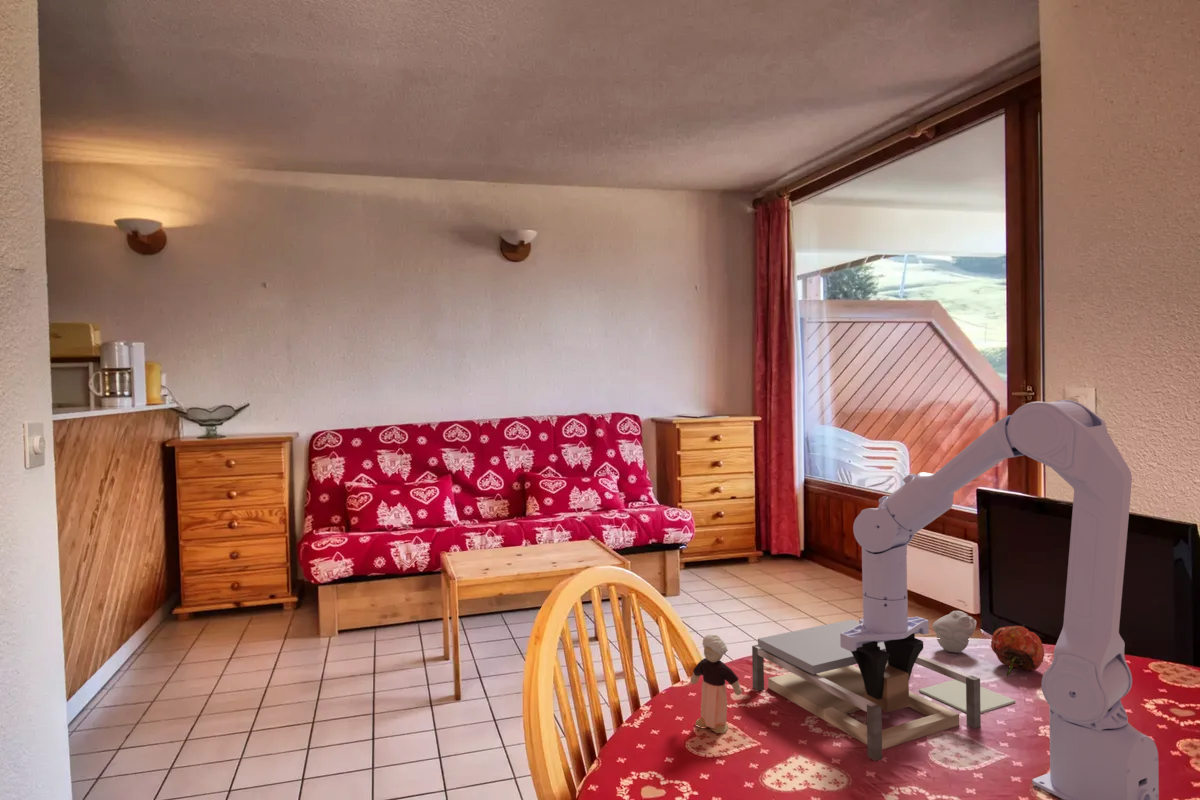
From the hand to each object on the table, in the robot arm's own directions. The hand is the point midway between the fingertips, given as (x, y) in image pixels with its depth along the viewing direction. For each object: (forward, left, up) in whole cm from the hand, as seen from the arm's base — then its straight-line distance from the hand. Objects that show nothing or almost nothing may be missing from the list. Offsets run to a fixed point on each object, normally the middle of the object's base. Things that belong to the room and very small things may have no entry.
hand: (886, 693), depth 98 cm
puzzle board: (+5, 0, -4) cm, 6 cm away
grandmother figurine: (+9, +22, -4) cm, 24 cm away
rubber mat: (0, -16, -4) cm, 16 cm away
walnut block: (0, 0, -1) cm, 1 cm away
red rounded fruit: (+3, -32, -4) cm, 32 cm away
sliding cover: (+10, 0, +3) cm, 10 cm away
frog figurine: (+13, -30, -4) cm, 33 cm away
